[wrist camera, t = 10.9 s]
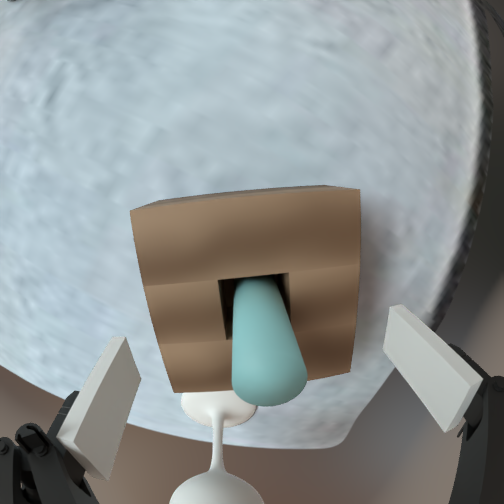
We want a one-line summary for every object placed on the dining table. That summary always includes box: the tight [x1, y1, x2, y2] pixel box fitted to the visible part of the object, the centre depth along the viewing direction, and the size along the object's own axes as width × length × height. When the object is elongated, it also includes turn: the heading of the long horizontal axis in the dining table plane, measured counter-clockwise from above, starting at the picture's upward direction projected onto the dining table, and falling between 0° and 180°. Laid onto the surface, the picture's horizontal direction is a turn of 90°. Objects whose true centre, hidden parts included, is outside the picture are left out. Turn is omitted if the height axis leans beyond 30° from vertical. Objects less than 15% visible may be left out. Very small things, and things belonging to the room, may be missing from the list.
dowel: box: [232, 274, 308, 406], centre depth 16 cm, size 3×3×12 cm
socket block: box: [130, 185, 361, 393], centre depth 21 cm, size 14×14×7 cm
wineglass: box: [169, 390, 264, 504], centre depth 18 cm, size 9×9×21 cm
